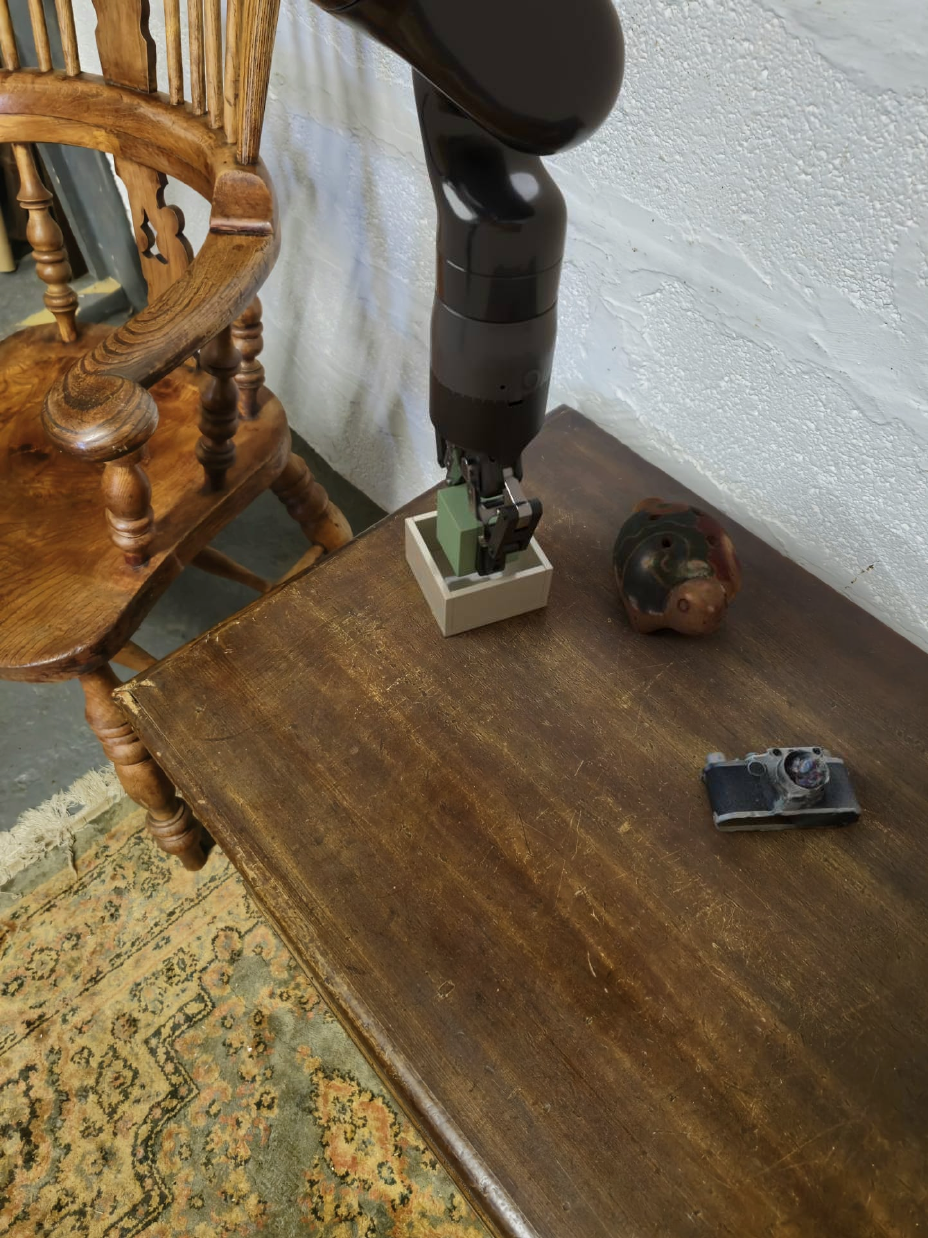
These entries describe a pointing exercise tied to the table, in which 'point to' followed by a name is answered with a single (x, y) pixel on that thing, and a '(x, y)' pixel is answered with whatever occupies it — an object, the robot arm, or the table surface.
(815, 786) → the camera
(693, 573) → the decorative turtle
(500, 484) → the robot arm
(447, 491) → the green box
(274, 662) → the table surface
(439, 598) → the open square box
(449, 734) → the table surface
